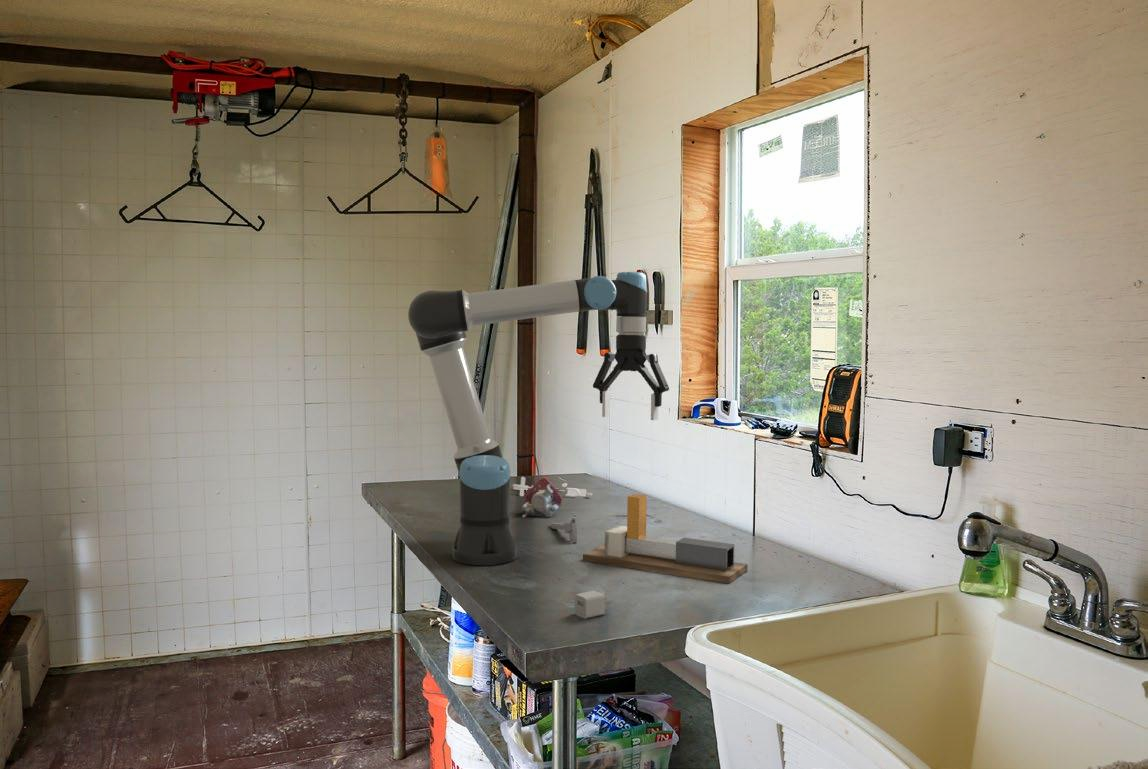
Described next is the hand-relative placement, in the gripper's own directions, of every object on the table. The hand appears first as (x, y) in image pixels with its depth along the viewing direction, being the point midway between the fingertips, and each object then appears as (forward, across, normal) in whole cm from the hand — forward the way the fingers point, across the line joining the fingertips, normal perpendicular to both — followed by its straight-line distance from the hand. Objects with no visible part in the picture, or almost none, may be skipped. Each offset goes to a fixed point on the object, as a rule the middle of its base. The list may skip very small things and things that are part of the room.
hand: (629, 418), depth 227 cm
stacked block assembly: (+29, -16, +16) cm, 37 cm away
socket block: (+30, -6, +16) cm, 35 cm away
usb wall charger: (+32, -20, +54) cm, 66 cm away
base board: (+32, -17, +16) cm, 39 cm away
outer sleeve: (+30, -27, +16) cm, 44 cm away
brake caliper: (+32, +36, -16) cm, 51 cm away
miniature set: (+32, +53, -44) cm, 77 cm away
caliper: (+32, +18, +2) cm, 37 cm away
